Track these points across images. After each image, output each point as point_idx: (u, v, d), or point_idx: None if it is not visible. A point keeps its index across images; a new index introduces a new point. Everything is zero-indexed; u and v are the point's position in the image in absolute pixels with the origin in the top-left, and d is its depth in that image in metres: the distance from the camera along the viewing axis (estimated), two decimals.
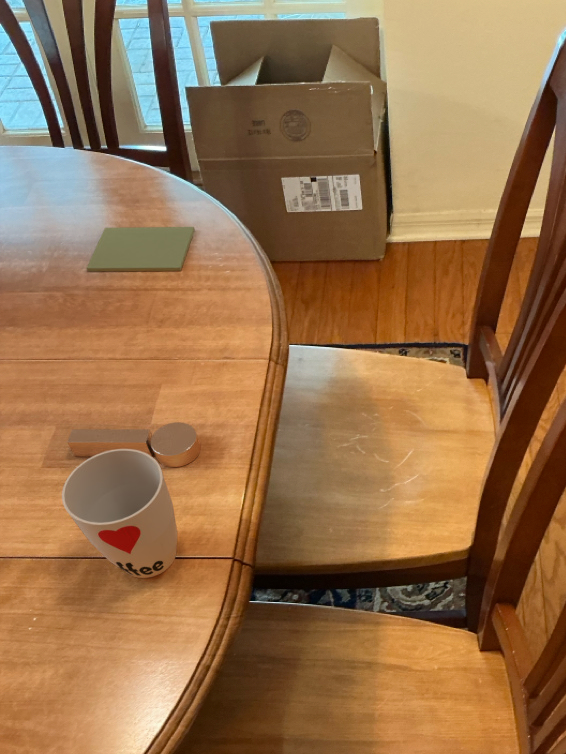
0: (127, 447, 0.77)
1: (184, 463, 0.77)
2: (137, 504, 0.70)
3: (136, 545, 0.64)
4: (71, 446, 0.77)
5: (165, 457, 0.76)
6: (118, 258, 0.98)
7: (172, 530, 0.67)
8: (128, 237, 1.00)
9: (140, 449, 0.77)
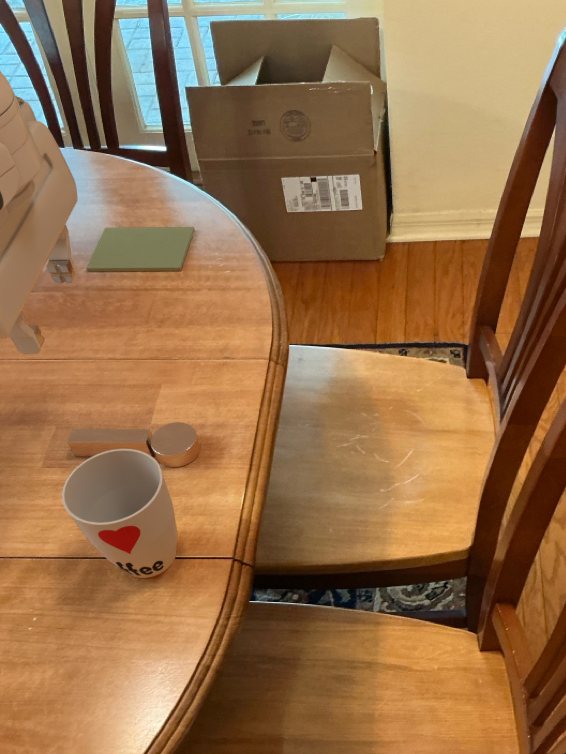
0: (127, 447, 0.77)
1: (184, 463, 0.77)
2: (137, 504, 0.70)
3: (136, 545, 0.64)
4: (71, 446, 0.77)
5: (165, 457, 0.76)
6: (118, 258, 0.98)
7: (172, 530, 0.67)
8: (128, 237, 1.00)
9: (140, 449, 0.77)
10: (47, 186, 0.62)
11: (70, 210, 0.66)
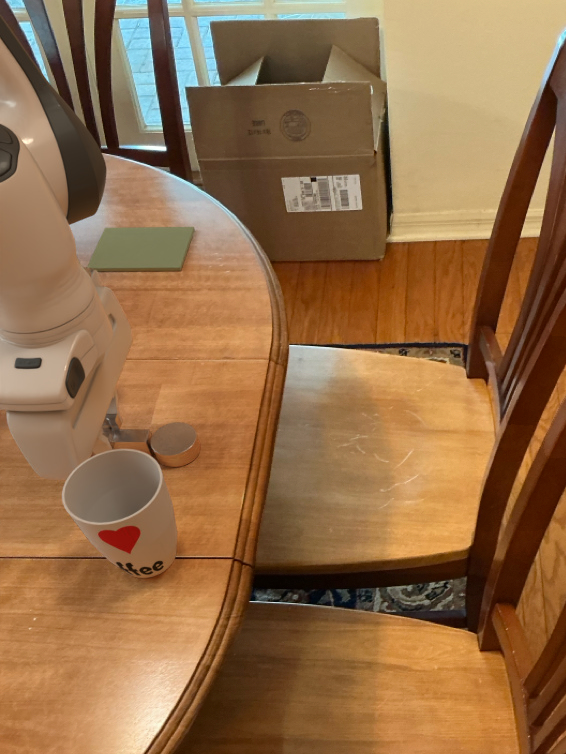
0: (127, 447, 0.77)
1: (184, 463, 0.77)
2: (137, 504, 0.70)
3: (136, 545, 0.64)
4: None
5: (165, 457, 0.76)
6: (118, 258, 0.98)
7: (172, 530, 0.67)
8: (128, 237, 1.00)
9: (140, 449, 0.77)
10: (111, 340, 0.73)
11: (127, 353, 0.77)
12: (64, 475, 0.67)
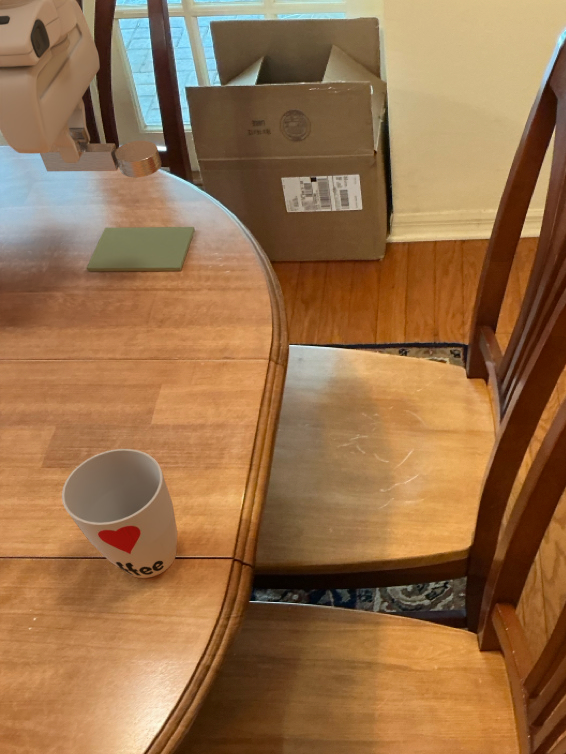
0: (94, 158, 0.84)
1: (145, 173, 0.84)
2: (137, 504, 0.70)
3: (136, 545, 0.64)
4: (43, 157, 0.85)
5: (128, 164, 0.83)
6: (118, 258, 0.98)
7: (172, 530, 0.67)
8: (128, 237, 1.00)
9: (106, 161, 0.85)
10: (78, 48, 0.81)
11: (94, 73, 0.85)
12: (31, 143, 0.74)
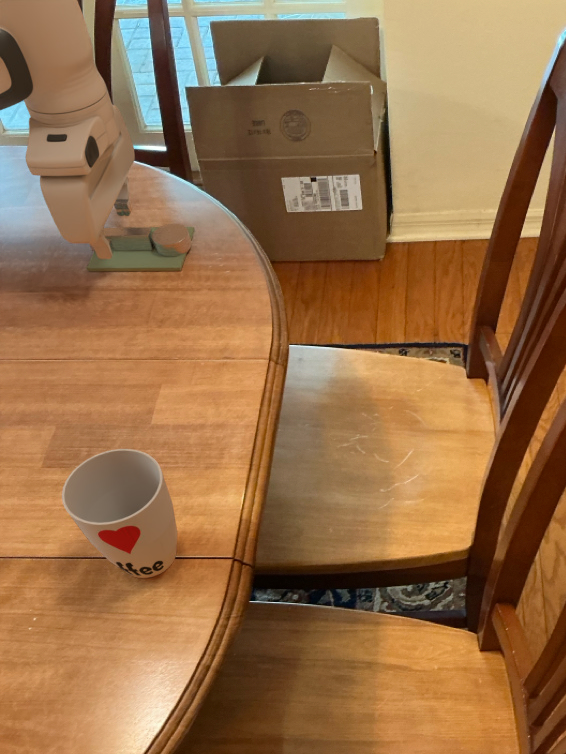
0: (133, 240, 0.97)
1: (178, 253, 0.97)
2: (137, 504, 0.70)
3: (136, 545, 0.64)
4: None
5: (163, 246, 0.96)
6: (118, 258, 0.98)
7: (172, 530, 0.67)
8: None
9: (144, 243, 0.98)
10: (118, 147, 0.94)
11: (130, 165, 0.98)
12: (82, 236, 0.87)
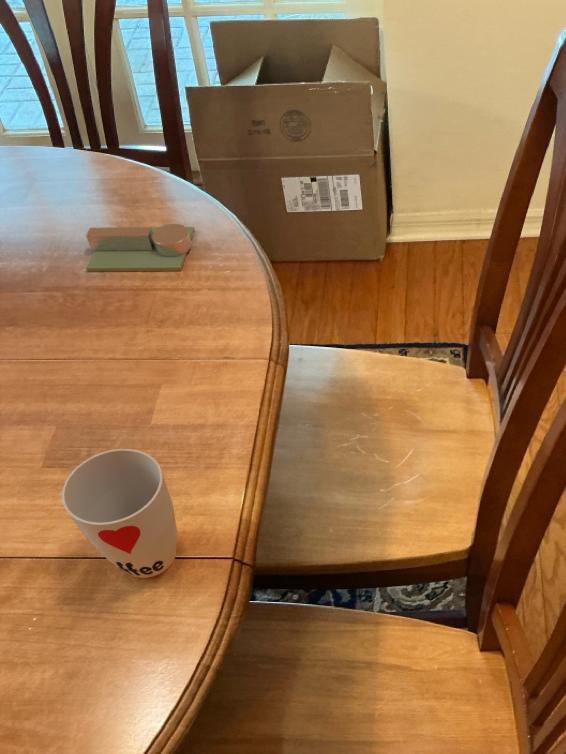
0: (133, 240, 0.97)
1: (178, 253, 0.97)
2: (137, 504, 0.70)
3: (136, 545, 0.64)
4: (89, 240, 0.98)
5: (163, 246, 0.96)
6: (118, 258, 0.98)
7: (172, 530, 0.67)
8: None
9: (144, 243, 0.98)
10: None
11: None
12: None
